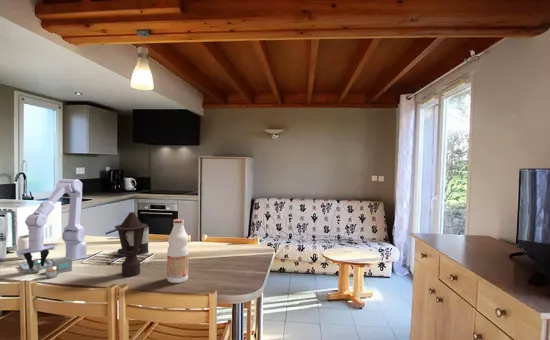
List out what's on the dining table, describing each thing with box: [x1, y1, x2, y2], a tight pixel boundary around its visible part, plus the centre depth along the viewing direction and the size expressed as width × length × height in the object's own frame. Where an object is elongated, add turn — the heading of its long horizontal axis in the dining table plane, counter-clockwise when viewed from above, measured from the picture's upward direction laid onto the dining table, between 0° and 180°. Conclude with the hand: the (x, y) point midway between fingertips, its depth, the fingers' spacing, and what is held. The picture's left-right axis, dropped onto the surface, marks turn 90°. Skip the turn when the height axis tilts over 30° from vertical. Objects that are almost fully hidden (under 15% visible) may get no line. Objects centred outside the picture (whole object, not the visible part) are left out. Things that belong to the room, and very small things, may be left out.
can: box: [17, 234, 34, 261], centre depth 172 cm, size 6×6×12 cm
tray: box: [18, 258, 52, 274], centre depth 158 cm, size 12×12×2 cm
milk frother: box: [116, 226, 150, 258], centre depth 183 cm, size 14×16×15 cm
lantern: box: [114, 211, 149, 278], centre depth 152 cm, size 15×15×30 cm
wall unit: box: [51, 256, 73, 275], centre depth 153 cm, size 7×5×6 cm
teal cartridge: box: [31, 258, 42, 273], centre depth 151 cm, size 4×4×5 cm
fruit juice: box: [166, 218, 189, 284], centre depth 146 cm, size 9×9×28 cm
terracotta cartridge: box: [45, 265, 58, 280], centre depth 146 cm, size 4×4×5 cm
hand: (36, 267), depth 151 cm, fingers closed on teal cartridge, 4 cm apart
